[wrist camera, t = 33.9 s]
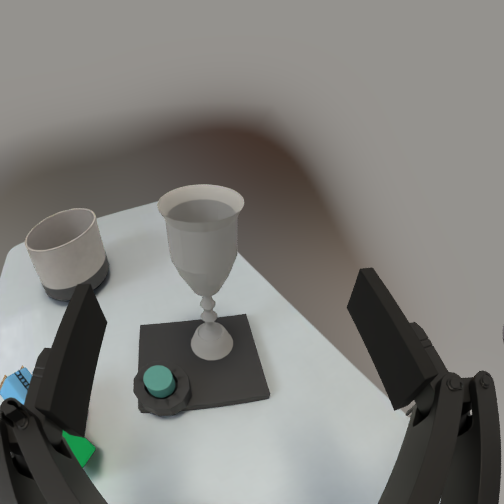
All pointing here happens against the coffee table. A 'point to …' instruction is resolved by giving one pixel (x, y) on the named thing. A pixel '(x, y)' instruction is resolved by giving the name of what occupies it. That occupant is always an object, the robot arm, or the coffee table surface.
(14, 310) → the coffee table surface
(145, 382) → the button
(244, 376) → the scale
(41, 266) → the planter
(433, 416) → the robot arm
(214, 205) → the chalice
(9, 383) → the building blocks
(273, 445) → the coffee table surface
